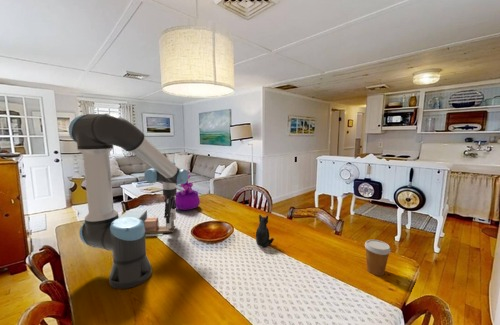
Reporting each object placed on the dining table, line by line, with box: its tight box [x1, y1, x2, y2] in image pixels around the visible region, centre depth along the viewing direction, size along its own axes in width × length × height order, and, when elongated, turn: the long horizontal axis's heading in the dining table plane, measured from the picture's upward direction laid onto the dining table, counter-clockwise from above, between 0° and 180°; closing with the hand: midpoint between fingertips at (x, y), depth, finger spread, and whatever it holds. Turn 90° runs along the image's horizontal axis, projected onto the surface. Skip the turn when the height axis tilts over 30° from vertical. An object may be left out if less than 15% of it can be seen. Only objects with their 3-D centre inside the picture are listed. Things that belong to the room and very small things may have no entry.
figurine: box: [255, 214, 275, 248], centre depth 118 cm, size 10×10×15 cm
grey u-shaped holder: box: [144, 213, 176, 234], centre depth 133 cm, size 7×16×10 cm, turn 97°
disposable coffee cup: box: [364, 239, 392, 277], centre depth 95 cm, size 10×10×12 cm
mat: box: [145, 233, 164, 237], centre depth 134 cm, size 11×10×1 cm
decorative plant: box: [175, 169, 201, 211], centre depth 173 cm, size 19×18×30 cm
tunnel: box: [119, 209, 148, 228], centre depth 132 cm, size 14×33×11 cm, turn 97°
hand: (171, 223), depth 134 cm, fingers open, 13 cm apart
